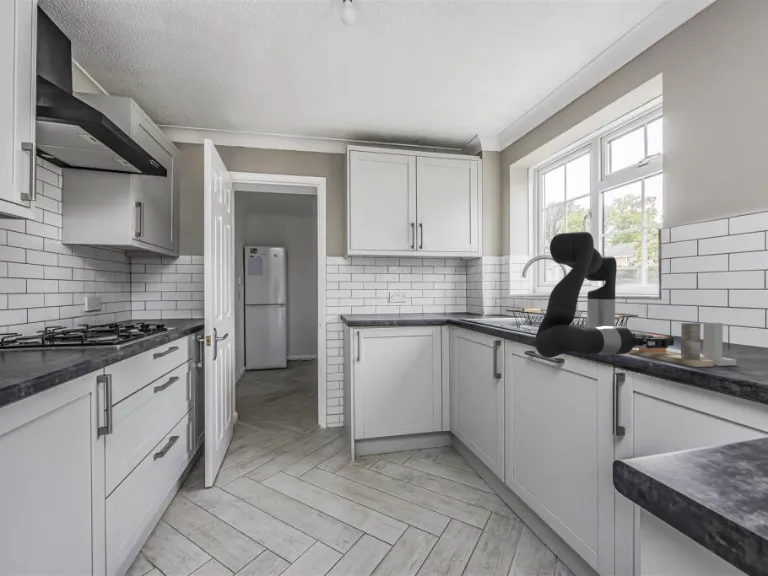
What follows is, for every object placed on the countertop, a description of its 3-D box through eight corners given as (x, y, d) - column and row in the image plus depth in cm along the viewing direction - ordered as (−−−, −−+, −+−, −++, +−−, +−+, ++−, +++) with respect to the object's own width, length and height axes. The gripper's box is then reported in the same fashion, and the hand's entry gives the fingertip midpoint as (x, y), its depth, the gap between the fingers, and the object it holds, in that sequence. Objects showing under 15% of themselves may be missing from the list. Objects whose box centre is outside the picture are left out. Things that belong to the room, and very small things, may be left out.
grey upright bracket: (648, 352, 128) (648, 317, 128) (663, 351, 130) (663, 317, 130) (719, 365, 107) (719, 324, 107) (736, 365, 108) (736, 323, 108)
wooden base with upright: (628, 353, 127) (628, 317, 126) (643, 352, 128) (643, 317, 128) (696, 367, 105) (696, 324, 105) (713, 366, 106) (714, 324, 106)
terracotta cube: (638, 350, 123) (639, 334, 123) (651, 349, 124) (651, 334, 124) (653, 352, 118) (653, 336, 118) (666, 352, 119) (666, 336, 119)
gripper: (631, 329, 97) (683, 328, 100) (589, 323, 110) (636, 323, 114) (630, 359, 97) (683, 357, 100) (588, 350, 110) (636, 348, 114)
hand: (658, 339), depth 107 cm, fingers open, 8 cm apart
